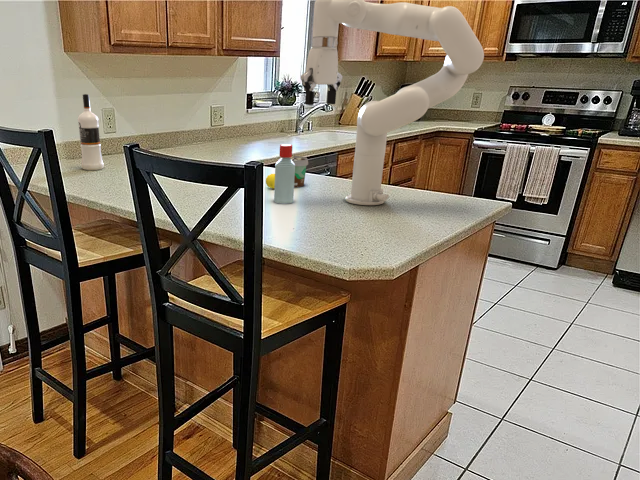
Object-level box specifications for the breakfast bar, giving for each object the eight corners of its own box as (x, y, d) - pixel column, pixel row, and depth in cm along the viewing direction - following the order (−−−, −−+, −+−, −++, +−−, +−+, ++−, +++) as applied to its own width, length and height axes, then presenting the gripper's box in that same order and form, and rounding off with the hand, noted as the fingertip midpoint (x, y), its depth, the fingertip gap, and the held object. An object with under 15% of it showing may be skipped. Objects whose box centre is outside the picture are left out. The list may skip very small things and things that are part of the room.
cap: (285, 158, 166) (285, 146, 165) (277, 156, 169) (277, 144, 167) (294, 156, 168) (294, 145, 167) (286, 155, 171) (286, 144, 170)
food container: (305, 189, 193) (307, 161, 189) (288, 188, 194) (290, 160, 190) (308, 182, 204) (310, 156, 200) (292, 181, 205) (293, 155, 201)
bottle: (297, 202, 174) (300, 147, 167) (282, 204, 170) (285, 149, 163) (284, 198, 179) (286, 145, 171) (270, 200, 175) (271, 146, 168)
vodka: (105, 169, 224) (98, 94, 212) (83, 171, 220) (75, 94, 208) (102, 166, 231) (95, 93, 219) (80, 167, 228) (72, 93, 216)
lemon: (262, 187, 195) (262, 172, 192) (274, 186, 197) (274, 171, 195) (272, 191, 189) (272, 176, 187) (284, 189, 191) (285, 174, 189)
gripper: (335, 45, 166) (330, 103, 173) (295, 43, 156) (292, 104, 163) (353, 45, 161) (347, 104, 168) (312, 42, 151) (308, 106, 158)
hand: (320, 104), depth 166 cm, fingers open, 9 cm apart
